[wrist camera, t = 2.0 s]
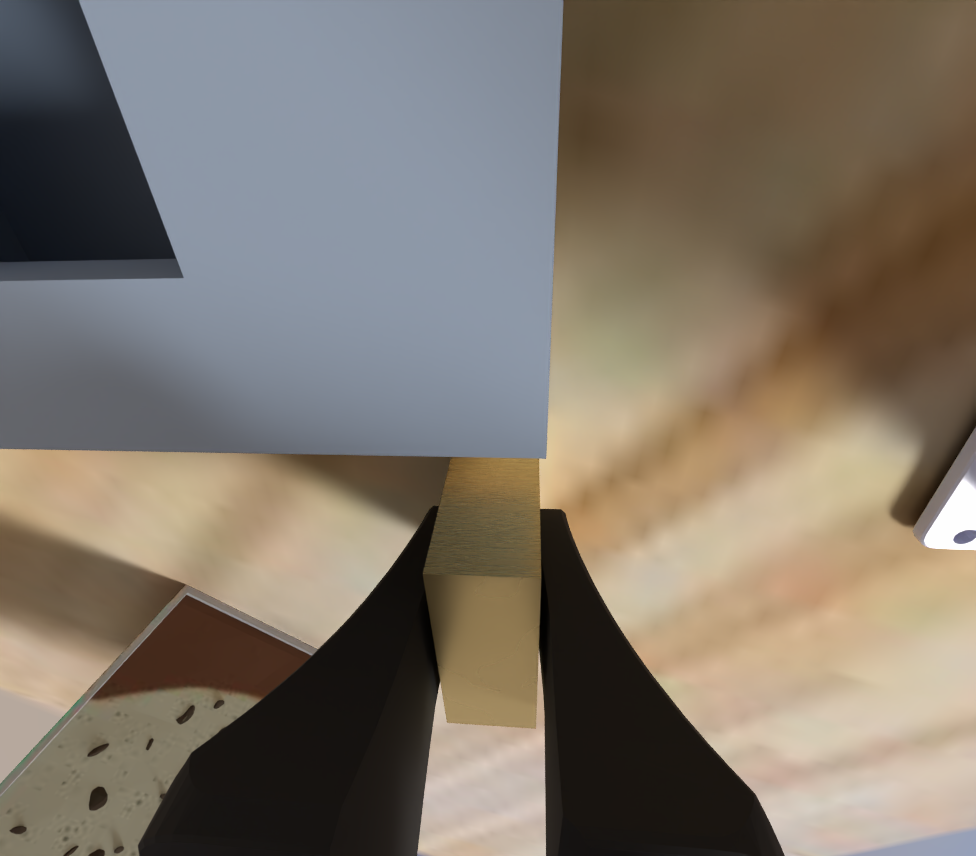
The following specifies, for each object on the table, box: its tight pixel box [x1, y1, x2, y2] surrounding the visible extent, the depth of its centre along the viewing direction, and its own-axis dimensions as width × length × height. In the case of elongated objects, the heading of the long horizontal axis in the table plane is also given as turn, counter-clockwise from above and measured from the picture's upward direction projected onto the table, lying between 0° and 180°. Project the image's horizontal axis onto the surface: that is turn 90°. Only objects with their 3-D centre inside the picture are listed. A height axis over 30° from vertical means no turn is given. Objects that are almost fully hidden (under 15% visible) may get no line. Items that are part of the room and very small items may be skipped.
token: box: [423, 457, 541, 729], centre depth 11 cm, size 2×5×5 cm, turn 2°
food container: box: [0, 585, 317, 856], centre depth 16 cm, size 12×6×10 cm, turn 50°
